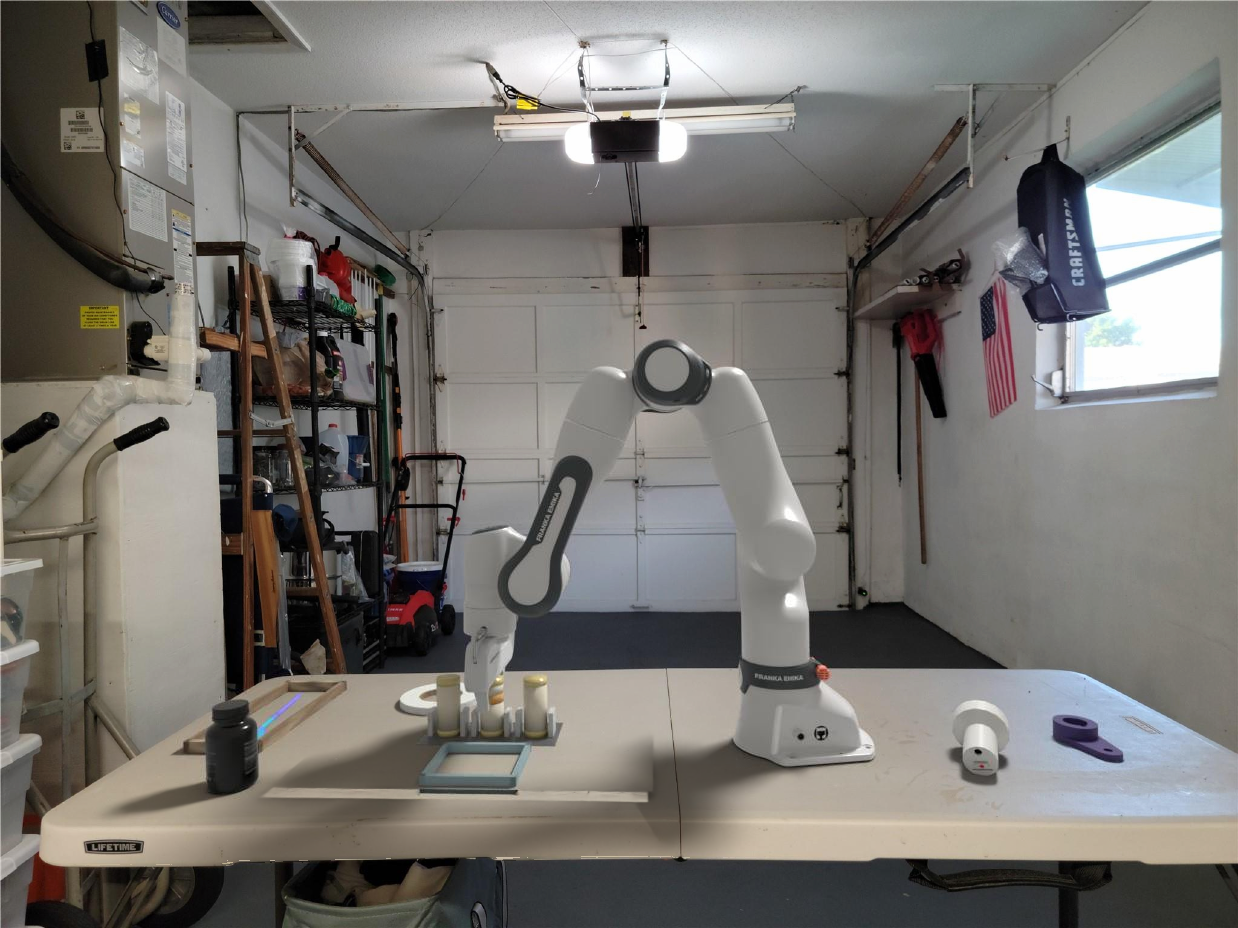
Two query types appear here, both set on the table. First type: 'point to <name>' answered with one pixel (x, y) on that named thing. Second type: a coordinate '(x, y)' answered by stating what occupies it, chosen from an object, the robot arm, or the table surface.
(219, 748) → the supplement bottle
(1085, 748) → the lever
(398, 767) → the table surface
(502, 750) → the tray
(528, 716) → the fuse
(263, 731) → the spoon
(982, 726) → the spotlight
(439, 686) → the fuse
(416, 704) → the roll of tape
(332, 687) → the wooden frame
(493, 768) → the table surface
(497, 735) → the cylinder
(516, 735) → the clip block
